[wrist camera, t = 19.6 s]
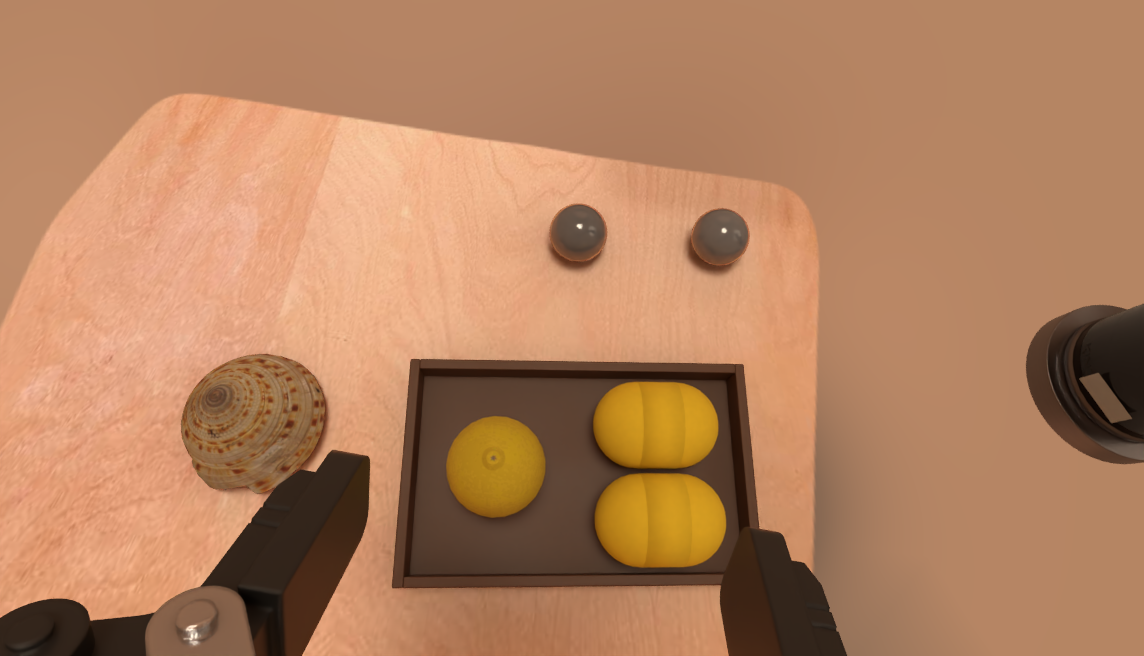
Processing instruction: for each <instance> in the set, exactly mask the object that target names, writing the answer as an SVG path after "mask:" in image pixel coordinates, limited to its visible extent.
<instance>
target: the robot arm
mask: <svg viewBox="0 0 1144 656" xmlns="http://www.w3.org/2000/svg"><path fill="white" fill-rule="evenodd" d="M1064 371H1065V376H1066V380H1067V383H1068V386H1069V388H1070V391H1071V393H1072V395H1073V397H1074V398H1075V400H1076V402H1077V403H1078V404H1079V406H1080V407H1081V409H1082V410H1083V411H1084V412H1085V413H1086V414H1087V415H1088V417H1089V418H1090V419H1091V420H1093V421H1094V422H1095V423H1096V424H1097V425H1099V426H1100V427H1101V428H1103V429H1104V430H1106V431H1107V432H1109V433H1111V434H1113V435H1115V436H1117V437H1119V438H1122V439H1125V440H1128V441H1132V442H1138V443H1144V304H1142V305H1139V306H1136V307H1133V308H1131V309H1128V310H1125V311H1123V312H1120V313H1118V314H1115V315H1112V316H1110V317H1106V318H1101V319H1098V320H1095V321H1093V322H1090V323H1087V324H1085V325H1084V326H1082V327H1080V328H1079V329H1078V330H1077V331H1076V332H1075V333H1074V334H1073V335H1072V336H1071V338H1070V340H1069V341H1068V344H1067V346H1066V349H1065V354H1064ZM369 479H370V459H369V457H368V456H365V455H359V454H354V453H348V452H343V451H337V450H332V451H331V452H330V453H329V454H328V455H327V457H326V458H325V459H324V461H323V462H322V464H321V465H320V467H319V468H318V470H317V471H316V472H311V471H305V470H299V471H298V472H296V473H295V474H293V475H292V476H290V477H289V478H287V479H286V480H284V481H283V482H281V483H279V484H278V485H277V487H276V488H275V489H274V490H273V492H272V493H271V494H270V496H269V497H268V498H267V500H266V501H265V502H264V505H263V507H261V508H260V509H259V510H258V512H257V513H256V514H255V516H254V517H253V518H252V521H251V523H249V524H248V525H247V526H246V528H245V529H244V530H243V532H242V533H241V534H240V536H239V537H238V538H237V539H236V541H235V542H234V543H233V545H232V546H231V547H230V549H229V550H228V551H227V553H226V554H225V555H224V557H223V558H222V559H221V561H220V562H219V563H218V565H217V566H216V567H215V569H214V570H213V571H212V573H211V574H210V575H209V577H208V578H207V579H206V581H205V582H204V583H203V584H202V585H201V586H200V587H198V588H194V589H191V590H188V591H185V592H183V593H181V594H179V595H177V596H175V597H173V598H172V599H170V600H168V601H167V602H166V603H165V604H163V605H162V606H161V607H160V608H159V609H158V610H157V611H156V612H155V613H151V614H146V615H140V616H131V617H122V618H112V619H103V620H93V621H90V617H89V614H88V611H87V610H86V608H85V607H84V606H83V605H81V604H80V603H78V602H76V601H73V600H68V599H47V600H42V601H37V602H34V603H30V604H27V605H25V606H22V607H20V608H17V609H15V610H13V611H11V612H9V613H8V614H6V615H4V616H3V617H1V618H0V656H302V654H303V652H304V650H305V648H306V646H307V645H308V643H309V641H310V639H311V637H312V635H313V633H314V631H315V629H316V627H317V625H318V623H319V621H320V619H321V617H322V615H323V613H324V611H325V609H326V607H327V605H328V603H329V601H330V599H331V597H332V595H333V594H334V592H335V590H336V588H337V586H338V584H339V582H340V580H341V578H342V576H343V574H344V572H345V570H346V568H347V566H348V564H349V562H350V560H351V558H352V556H353V554H354V552H355V550H356V548H357V546H358V545H359V543H360V540H361V538H362V536H363V533H364V530H365V526H366V522H367V517H368V509H369ZM720 607H721V613H722V619H723V625H724V631H725V636H726V642H727V648H728V654H729V656H847V654H846V652H845V649H844V646H843V643H842V640H841V638H840V635H839V632H837V631H836V624H835V621H834V618H833V616H832V613H831V612H829V608H830V607H829V605H828V602H827V599H826V596H825V594H824V591H823V588H822V585H821V584H820V582H818V580H817V579H816V577H815V576H814V575H813V574H812V572H811V571H810V570H809V568H808V567H807V566H806V565H805V563H802V562H797V561H791V557H790V554H789V551H788V548H787V545H786V542H785V539H784V537H783V535H782V534H781V533H779V532H773V531H768V530H762V529H757V528H752V527H744V528H743V529H742V530H741V532H740V535H739V537H738V540H737V542H736V545H735V547H734V550H733V553H732V555H731V558H730V560H729V563H728V565H727V568H726V571H725V573H724V576H723V579H722V583H721V590H720Z"/></svg>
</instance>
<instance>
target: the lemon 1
mask: <svg viewBox="0 0 1144 656" xmlns="http://www.w3.org/2000/svg"><path fill="white" fill-rule="evenodd" d="M446 470H447V479H448V482H449V486H450V489H451V491H452V492H453V494H454V495H455V497H456V498H457V500H458V501H459V502H460V503H461V504H462V505H463V506H464V507H465V508H467V509H468V510H470V511H472V512H474V513H476V514H478V515H481V516H486V517H490V518H495V517H505V516H508V515H511V514H514V513H517V512H518V511H520V510H522V509H523V508H525V507H526V506H527V505H528V504H529V503H530V502H531V501H532V500H533V499H534V498H535V497H536V495H537V493H538V492H539V490H540V488H541V486H542V483H543V480H544V476H545V456H544V452H543V448H542V446H541V444H540V442H539V440H538V438H537V436H536V435H535V434H534V433H533V432H532V431H531V430H530V429H529V428H528V427H527V426H525V425H524V424H522V423H521V422H519V421H517V420H514V419H511V418H508V417H501V416H492V417H486V418H482V419H479V420H477V421H475V422H473V423H471V424H470V425H468V426H467V427H466V428H464V429H463V430H462V431H461V432H460V433H459V435H458V436H457V437H456V438H455V440H454V441H453V443H452V446H451V448H450V450H449V452H448V457H447V463H446Z"/></svg>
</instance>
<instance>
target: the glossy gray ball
mask: <svg viewBox="0 0 1144 656" xmlns="http://www.w3.org/2000/svg"><path fill="white" fill-rule="evenodd" d="M749 238H750V234H749V228H748V225H747V223H746V222H745V220H744V219H743V218H742V217H741V216H740V215H739V214H738V213H736V212H735V211H732V210H730V209H725V208H718V209H713V210H710V211H708V212H706V213H704V214H703V215H702V216H701V217H700V218H699V219H698V220H697V221H696V223H695V225H694V227H693V229H692V234H691V242H692V247H693V249H694V251H695V253H696V254H697V256H698V257H699V258H700V259H701V260H703V261H704V262H706V263H708V264H711V265H716V266H723V265H728V264H731V263H733V262H735V261H736V260H738V259H739V258H740V257H741V256H742V255H743V254H744V252H745V251H746V249H747V247H748V244H749Z"/></svg>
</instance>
